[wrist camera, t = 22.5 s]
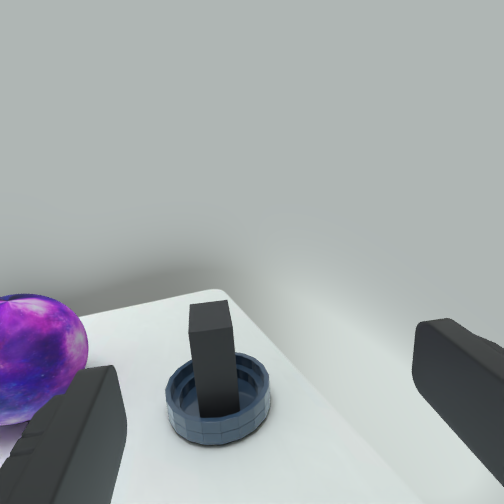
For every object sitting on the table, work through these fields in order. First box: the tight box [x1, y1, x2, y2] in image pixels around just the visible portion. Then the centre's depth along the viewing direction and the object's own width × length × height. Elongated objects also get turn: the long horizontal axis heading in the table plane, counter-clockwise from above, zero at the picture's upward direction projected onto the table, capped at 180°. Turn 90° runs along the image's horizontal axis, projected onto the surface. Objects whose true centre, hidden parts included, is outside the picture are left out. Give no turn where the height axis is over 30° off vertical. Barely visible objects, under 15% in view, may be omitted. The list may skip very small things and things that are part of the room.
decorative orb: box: [0, 294, 88, 425], centre depth 41 cm, size 15×15×15 cm
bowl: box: [165, 352, 270, 445], centre depth 40 cm, size 12×12×4 cm
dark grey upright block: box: [188, 300, 240, 418], centre depth 39 cm, size 4×6×12 cm
